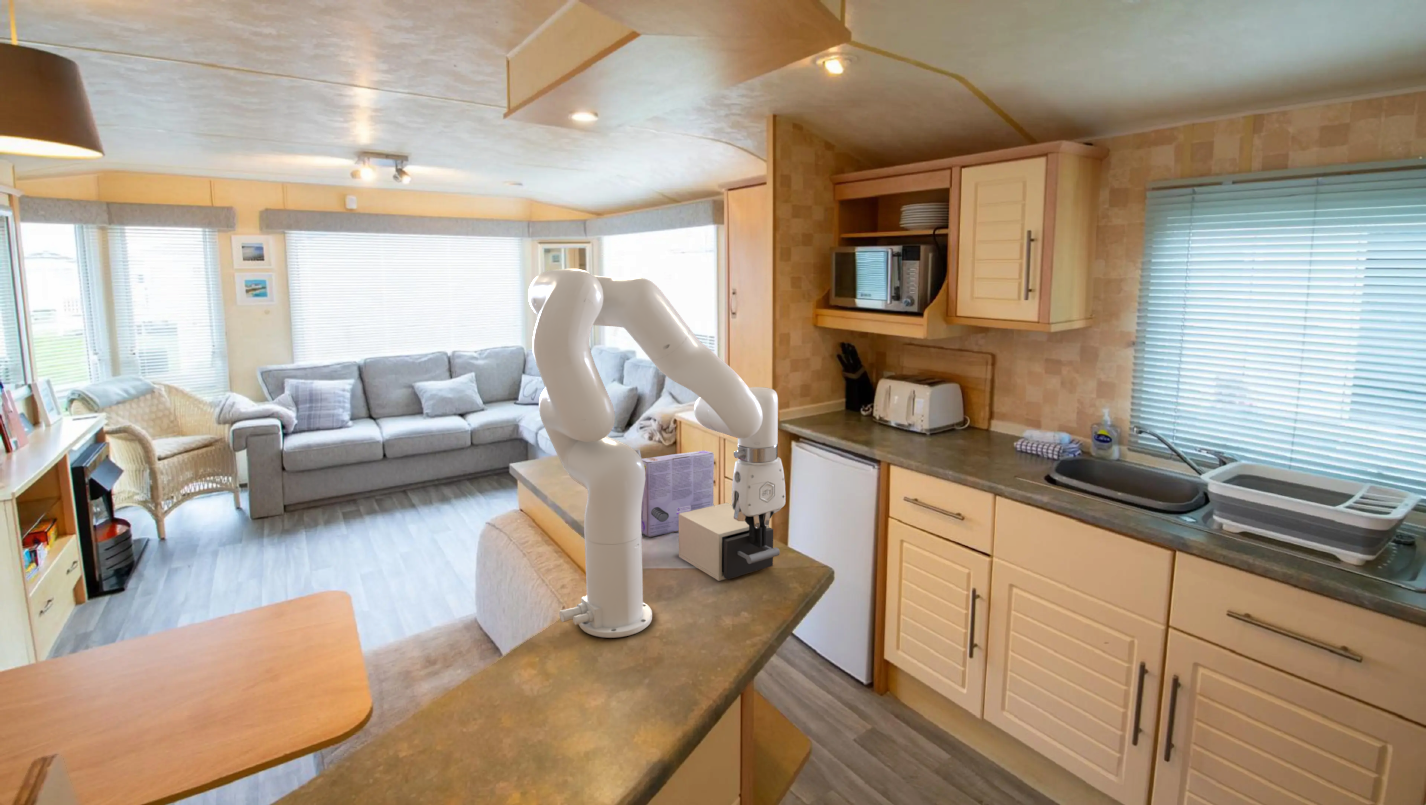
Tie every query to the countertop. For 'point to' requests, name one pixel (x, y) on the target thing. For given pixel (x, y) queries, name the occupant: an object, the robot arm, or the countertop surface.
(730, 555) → the black drawer
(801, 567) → the countertop surface
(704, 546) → the cream drawer cabinet
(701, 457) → the cake pan box
